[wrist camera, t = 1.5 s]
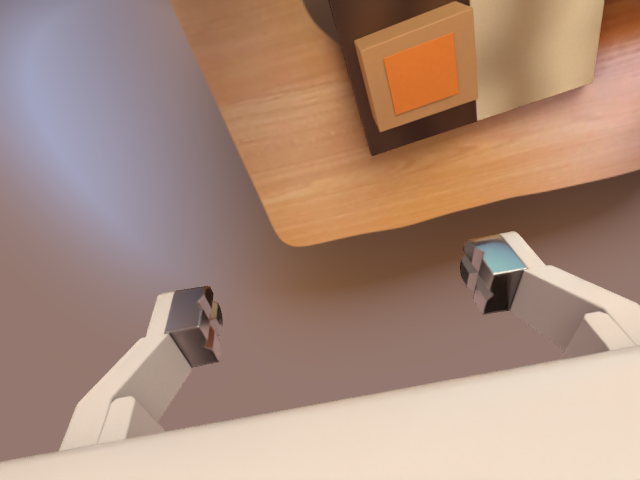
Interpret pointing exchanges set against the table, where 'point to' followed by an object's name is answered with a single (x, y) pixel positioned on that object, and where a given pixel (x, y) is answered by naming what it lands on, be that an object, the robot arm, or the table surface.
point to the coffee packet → (420, 65)
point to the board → (483, 56)
